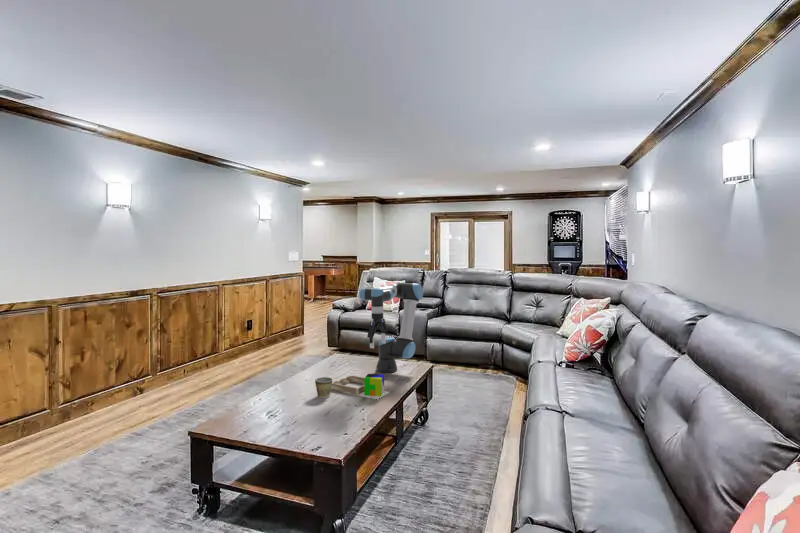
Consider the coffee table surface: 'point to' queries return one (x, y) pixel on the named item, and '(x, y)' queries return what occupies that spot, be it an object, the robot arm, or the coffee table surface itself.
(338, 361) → the coffee table surface
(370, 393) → the puzzle toy
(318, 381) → the ceramic cup
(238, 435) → the coffee table surface
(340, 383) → the bin
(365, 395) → the pad
